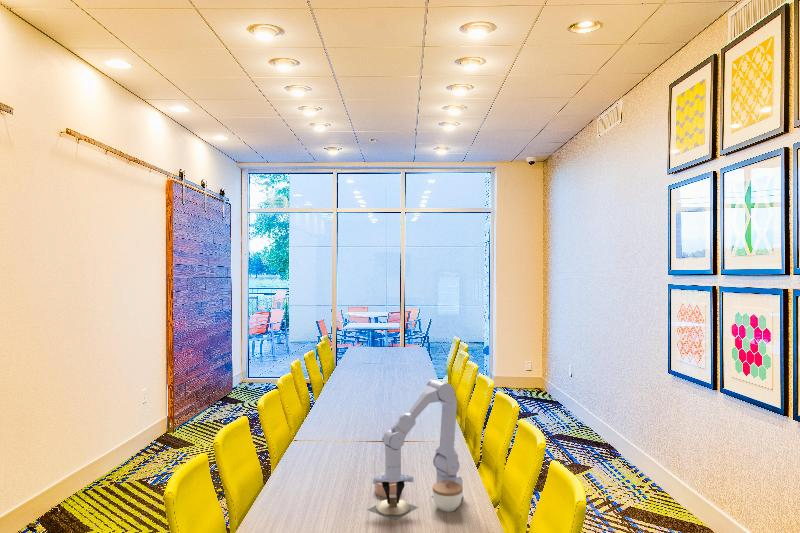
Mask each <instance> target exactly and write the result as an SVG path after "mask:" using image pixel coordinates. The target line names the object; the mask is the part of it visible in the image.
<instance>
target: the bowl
mask: <svg viewBox="0 0 800 533" xmlns="http://www.w3.org/2000/svg"><path fill="white" fill-rule="evenodd" d="M389 486H390V492H389V495H396V491H397V490H396V482H392V483H389ZM374 493H375V494H376V496H377V495H378V496H380V497H382V498H383V497H386V498H387V496H386V493H385V491H384V488H383V486H382V483H376V484H374Z"/></svg>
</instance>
